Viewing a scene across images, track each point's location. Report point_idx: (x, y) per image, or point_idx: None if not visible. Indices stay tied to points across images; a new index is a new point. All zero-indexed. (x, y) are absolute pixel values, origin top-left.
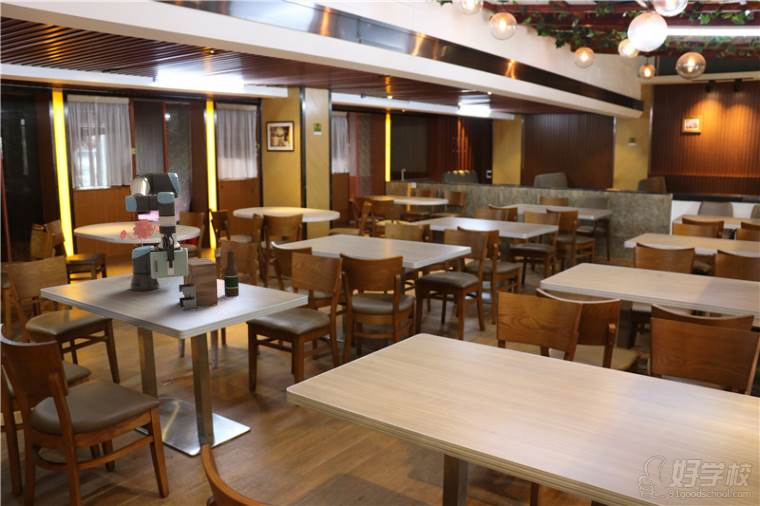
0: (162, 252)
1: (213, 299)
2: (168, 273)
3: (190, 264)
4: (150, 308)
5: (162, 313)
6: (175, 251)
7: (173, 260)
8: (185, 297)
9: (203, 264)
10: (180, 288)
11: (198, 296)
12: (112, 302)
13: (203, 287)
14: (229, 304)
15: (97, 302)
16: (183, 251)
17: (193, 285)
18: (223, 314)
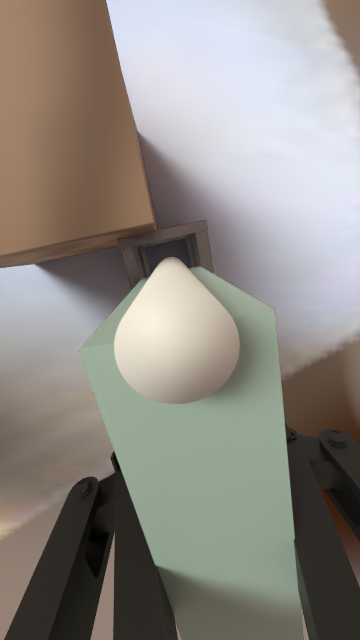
0: (268, 630)
1: (138, 140)
2: None
3: (96, 231)
4: None
5: None
6: (244, 499)
7: (292, 429)
8: (145, 268)
9: (119, 71)
10: None
11: (153, 211)
12: (26, 469)
13: (143, 171)
14: (147, 71)
15: (19, 500)
16: (279, 371)
17: (199, 231)
18: (307, 131)
